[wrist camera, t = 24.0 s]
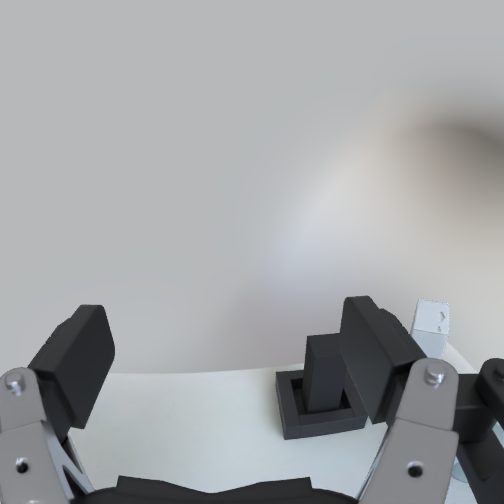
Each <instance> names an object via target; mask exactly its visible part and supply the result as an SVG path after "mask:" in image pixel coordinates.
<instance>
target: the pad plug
mask: <svg viewBox="0 0 504 504" xmlns="http://www.w3.org/2000/svg"><path fill="white" fill-rule="evenodd" d="M339 334H340V333H335V334H325V335H313V336H307V344H306V354H305V364H304V374H303V383H302V392H301V397H302V401H303V405H304V409H305V413H306V415H307V414H315V413H323V412H330V411H336V410H338V407H339V403H340V399H341V395H342V390H343V386H344V381H345V377H346V372H347V366H346V364H345V362H344V360H343V357H342V355H341V352H340V348H339Z"/></svg>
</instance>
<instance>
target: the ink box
mask: <svg viewBox="0 0 504 504" xmlns="http://www.w3.org/2000/svg"><path fill="white" fill-rule="evenodd" d="M410 335H411V336H412V338H413V339H414V340H415V341H416V343H417V344H418V345H419V346H420V348H421V349H422V350H423V352H424V353H425V354H426V356H427V357H428V358H437V359H441V357H442V354H443V351H444V348H445V344H446V341H447V338H448V335H449V304H447V303H443V302H437V301H430V300H423V299H418V302H417V306H416V311H415V315H414V319H413V323H412V327H411V331H410Z"/></svg>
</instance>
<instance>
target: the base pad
mask: <svg viewBox="0 0 504 504" xmlns="http://www.w3.org/2000/svg"><path fill="white" fill-rule="evenodd" d="M303 374H304V370H296V371H289V372H288V371H283V372H276V391H277V397H278V403H279V409H280V415H281V421H282V426H283V432H284V438H285V440H288V439H297V438H306V437H313V436H321V435H327V434H334V433H340V432H345V431H351V430H356V429H361V428H364V426H365V423H366V420H367V418H368V413H367V411H366V409H365V407H364V404H363V402H362V400H361V398H360V395H359V393H358V391H357V389H356V386H355V384H354V382H353V380H352V377H351V375H350V373H349V371H348V369H347V372H346V377H345V381H344V386H343V390H342V395H341V399H340V403H339V407H338V410H336V411H330V412H323V413H315V414H307V415H306V413H305V409H304V405H303V401H302V397H301V392H302V383H303Z"/></svg>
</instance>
